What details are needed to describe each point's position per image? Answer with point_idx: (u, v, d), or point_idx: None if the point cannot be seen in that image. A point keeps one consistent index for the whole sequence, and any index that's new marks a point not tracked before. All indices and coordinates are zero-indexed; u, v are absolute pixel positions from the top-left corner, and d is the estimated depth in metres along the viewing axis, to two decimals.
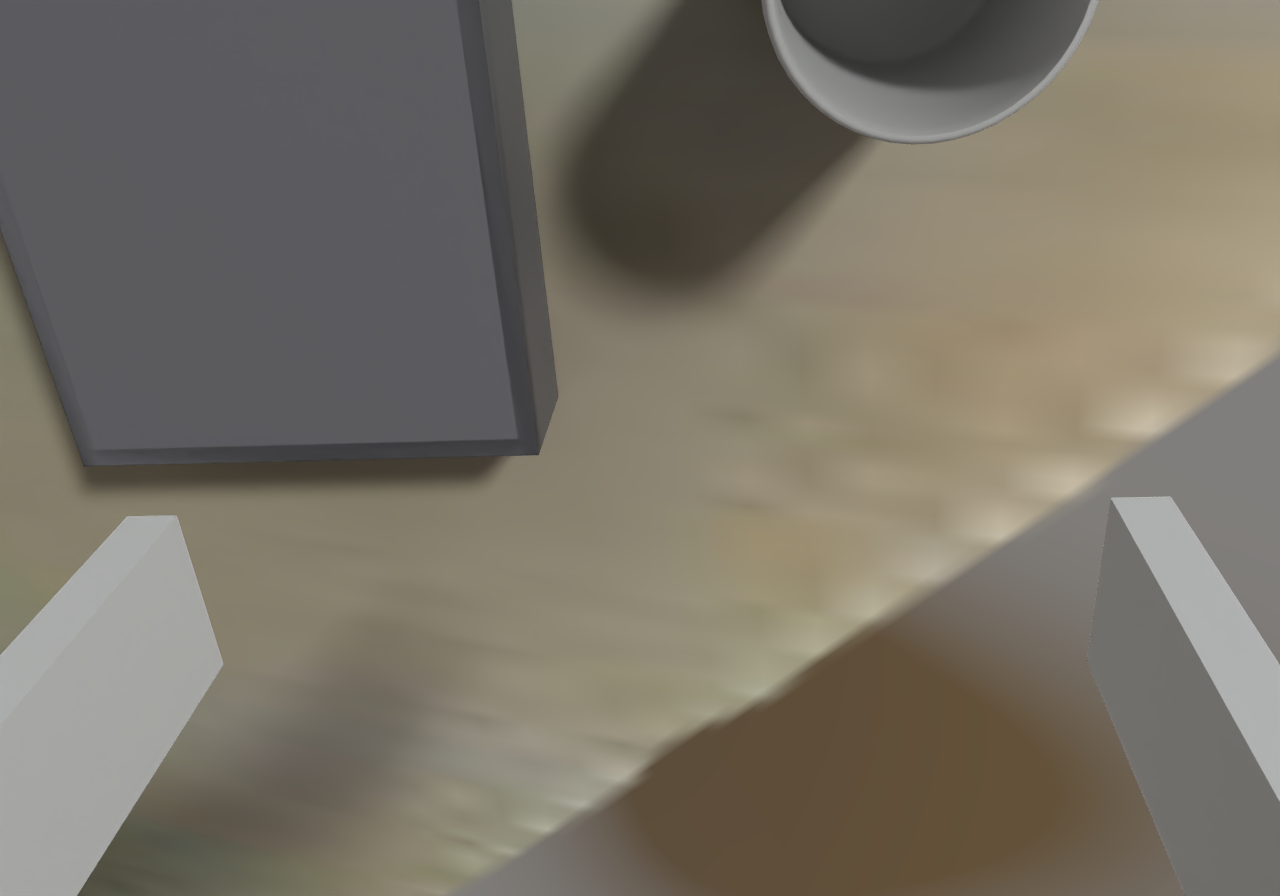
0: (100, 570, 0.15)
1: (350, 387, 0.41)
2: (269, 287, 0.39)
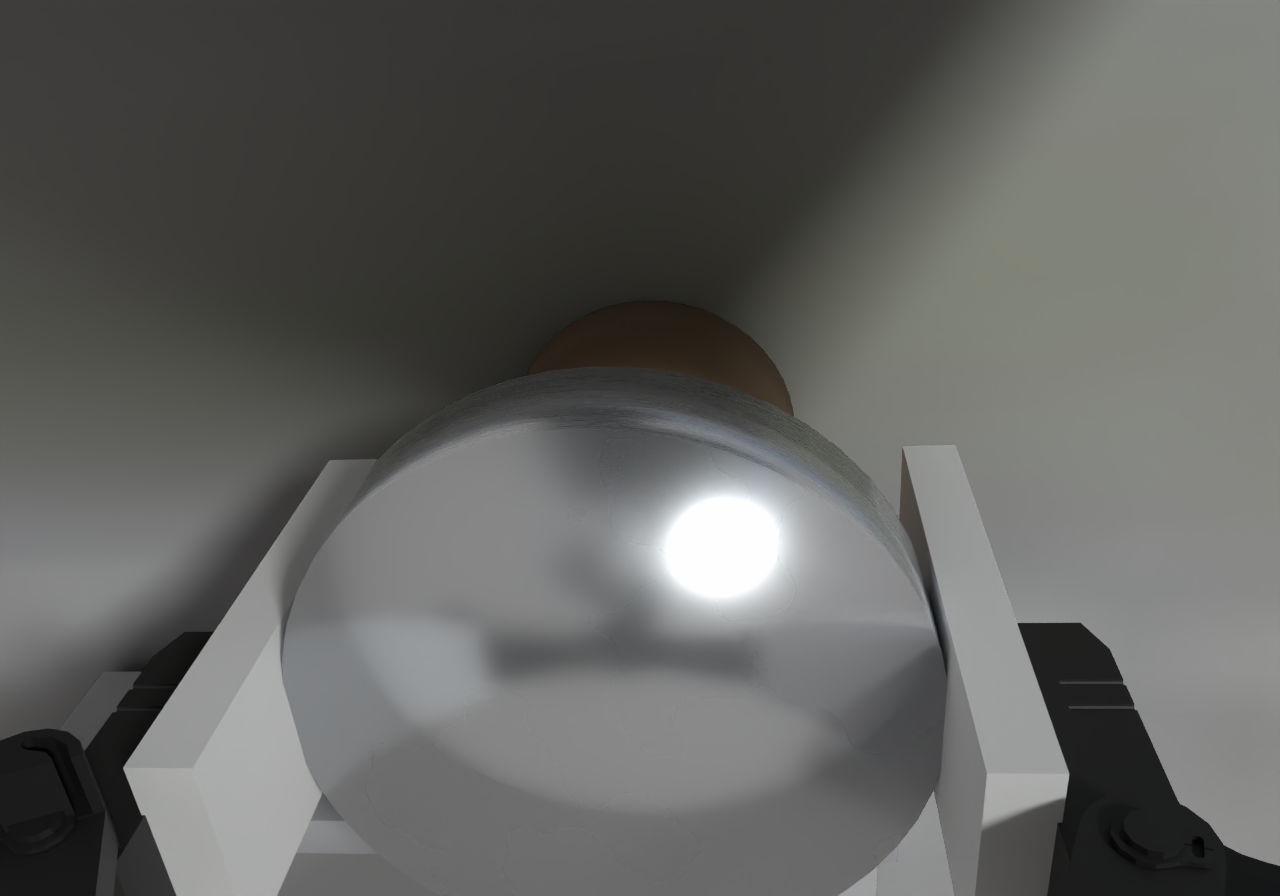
0: (320, 507, 0.16)
1: None
2: None
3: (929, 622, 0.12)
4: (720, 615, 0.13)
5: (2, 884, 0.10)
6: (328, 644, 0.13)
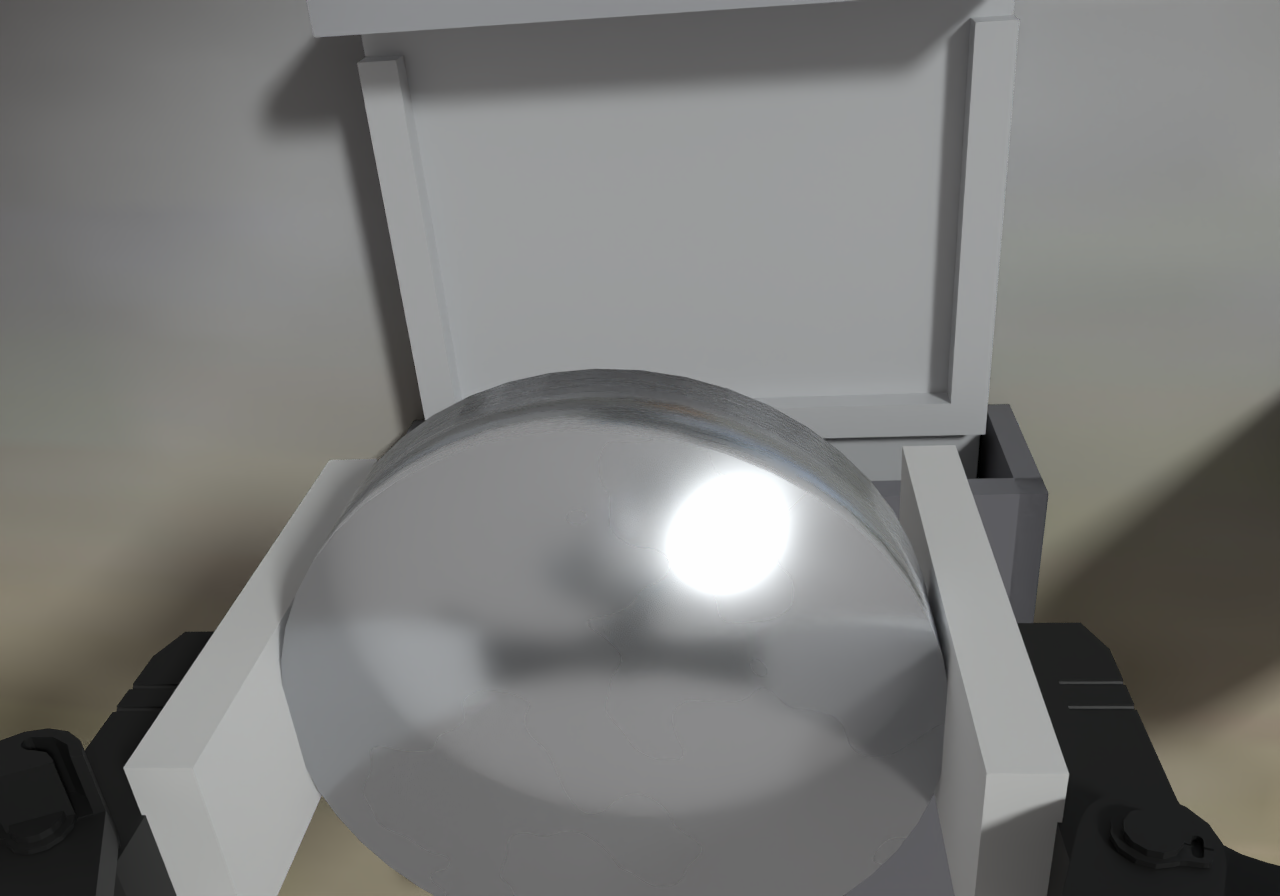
0: (320, 506, 0.16)
1: None
2: None
3: (929, 625, 0.12)
4: (720, 618, 0.13)
5: (2, 884, 0.10)
6: (327, 647, 0.13)
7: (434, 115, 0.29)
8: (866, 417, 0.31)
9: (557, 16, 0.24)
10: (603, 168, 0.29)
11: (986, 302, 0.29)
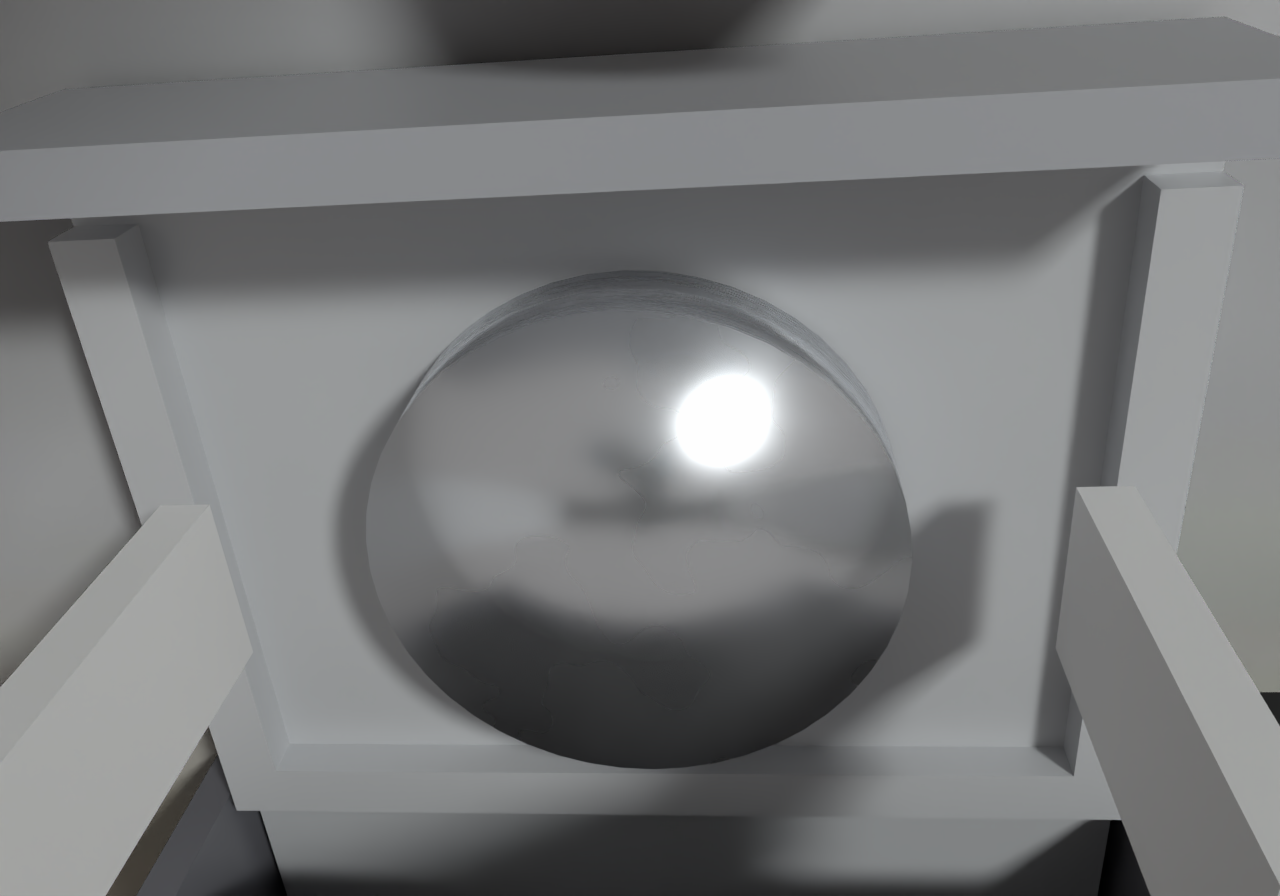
0: (135, 558, 0.15)
1: None
2: None
3: (894, 472, 0.15)
4: (726, 468, 0.16)
5: None
6: (405, 499, 0.16)
7: (201, 321, 0.17)
8: (933, 791, 0.19)
9: (363, 195, 0.12)
10: None
11: None
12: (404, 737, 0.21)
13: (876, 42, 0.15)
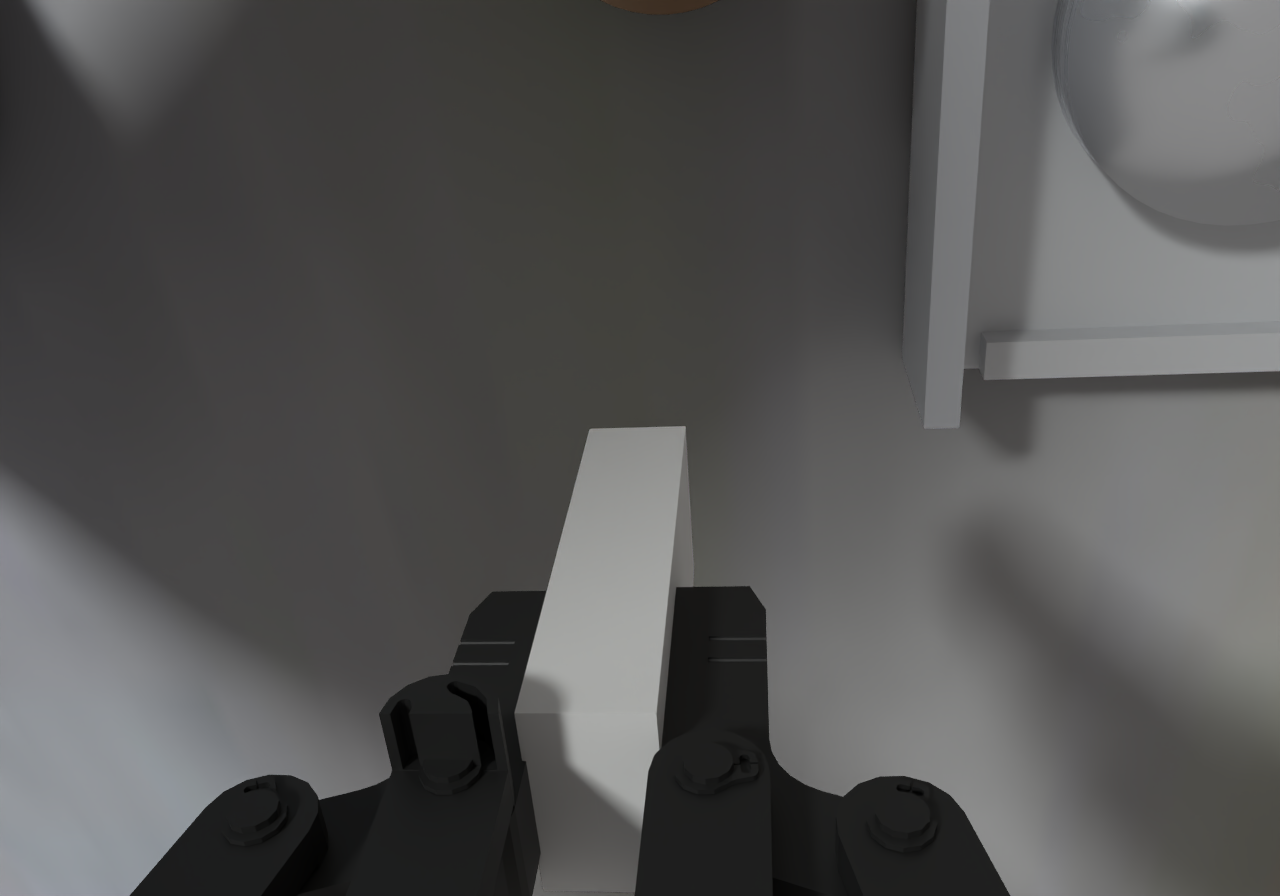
0: (600, 472, 0.16)
1: None
2: None
3: None
4: None
5: (409, 817, 0.11)
6: (1174, 190, 0.24)
7: (1047, 308, 0.27)
8: None
9: (971, 186, 0.23)
10: None
11: None
12: None
13: None
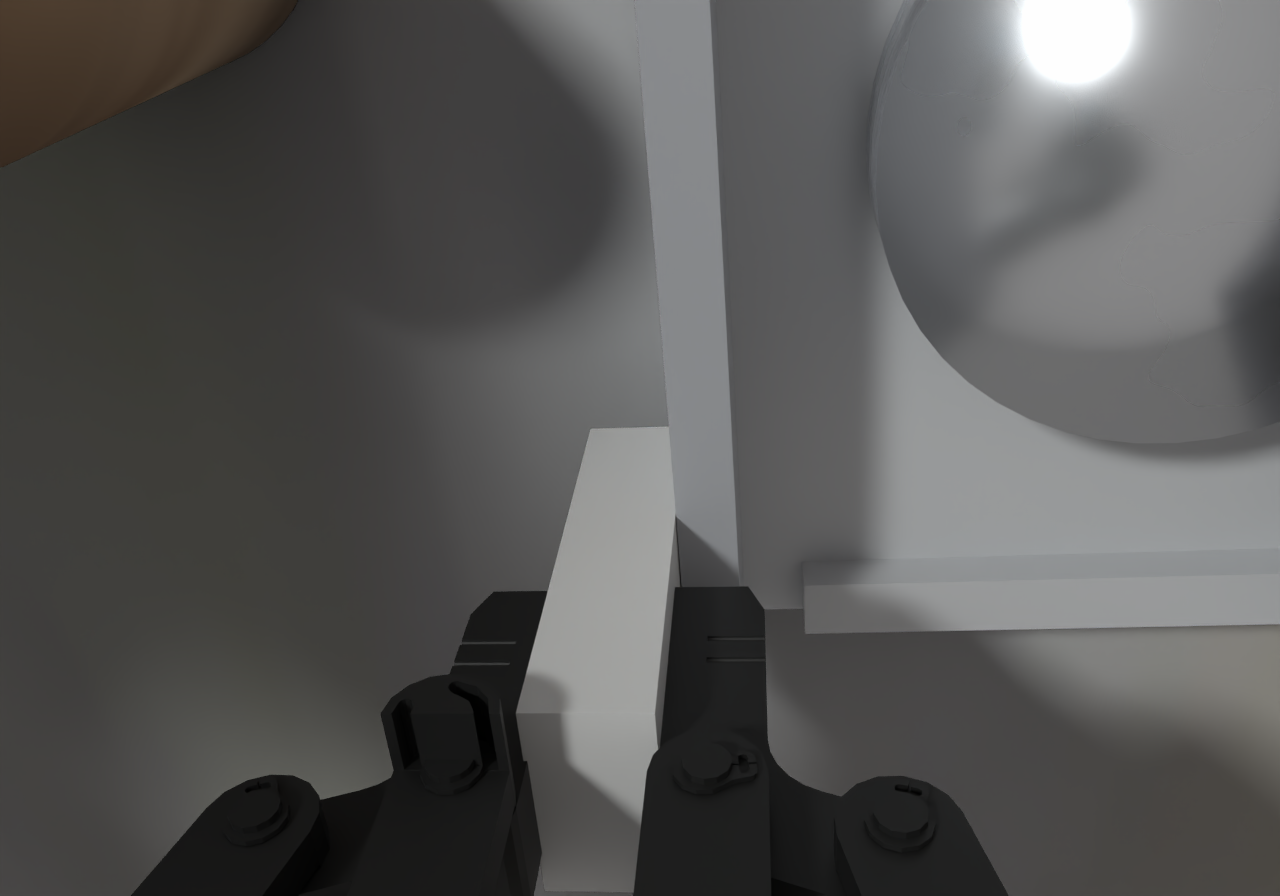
0: (601, 472, 0.16)
1: None
2: None
3: None
4: (1114, 16, 0.13)
5: (411, 817, 0.11)
6: (1027, 377, 0.15)
7: (894, 531, 0.19)
8: None
9: (722, 409, 0.14)
10: None
11: None
12: None
13: None
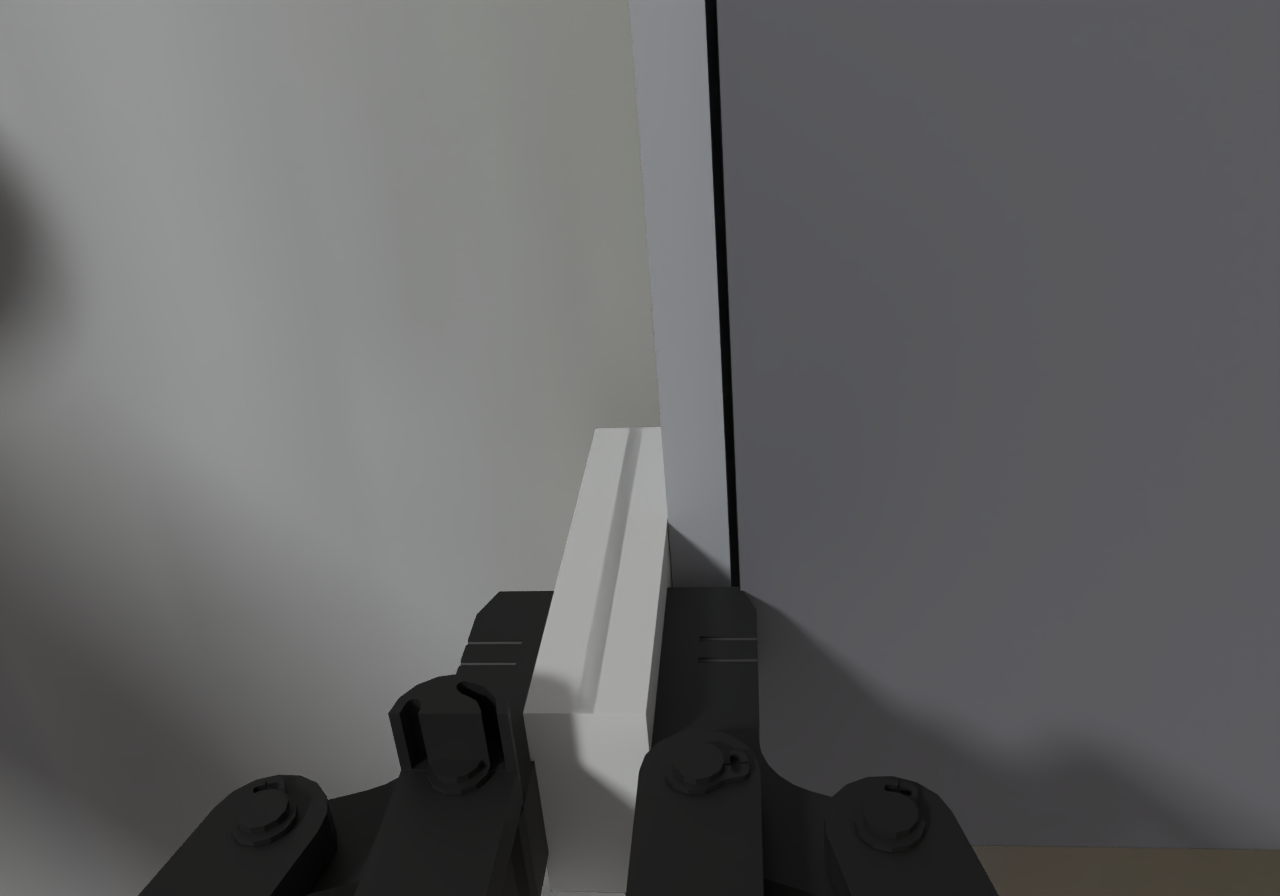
0: (606, 472, 0.16)
1: None
2: None
3: None
4: None
5: (418, 817, 0.11)
6: None
7: None
8: None
9: (716, 429, 0.14)
10: None
11: None
12: None
13: None
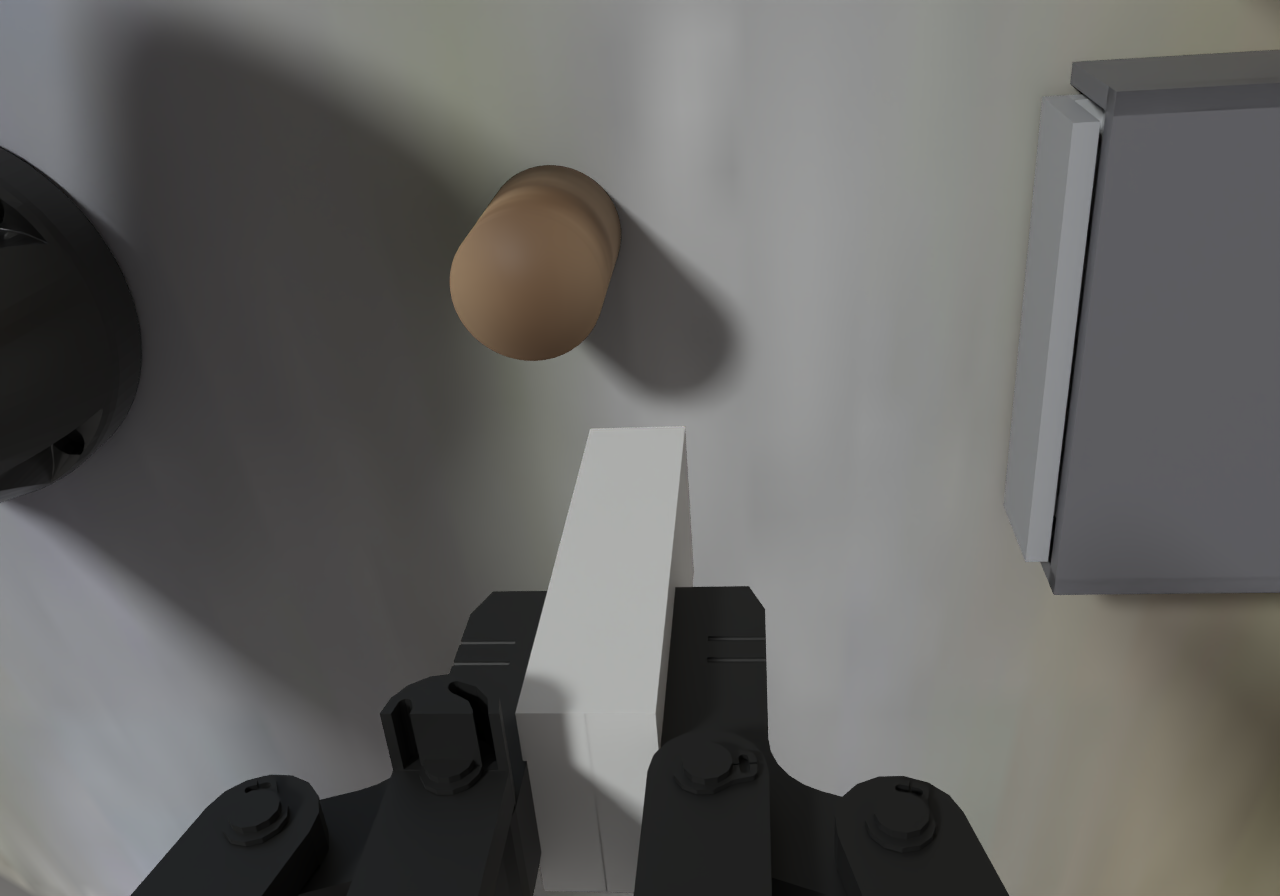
0: (601, 472, 0.16)
1: None
2: None
3: None
4: None
5: (410, 817, 0.11)
6: None
7: None
8: None
9: (1061, 427, 0.39)
10: None
11: None
12: None
13: (1032, 228, 0.39)
